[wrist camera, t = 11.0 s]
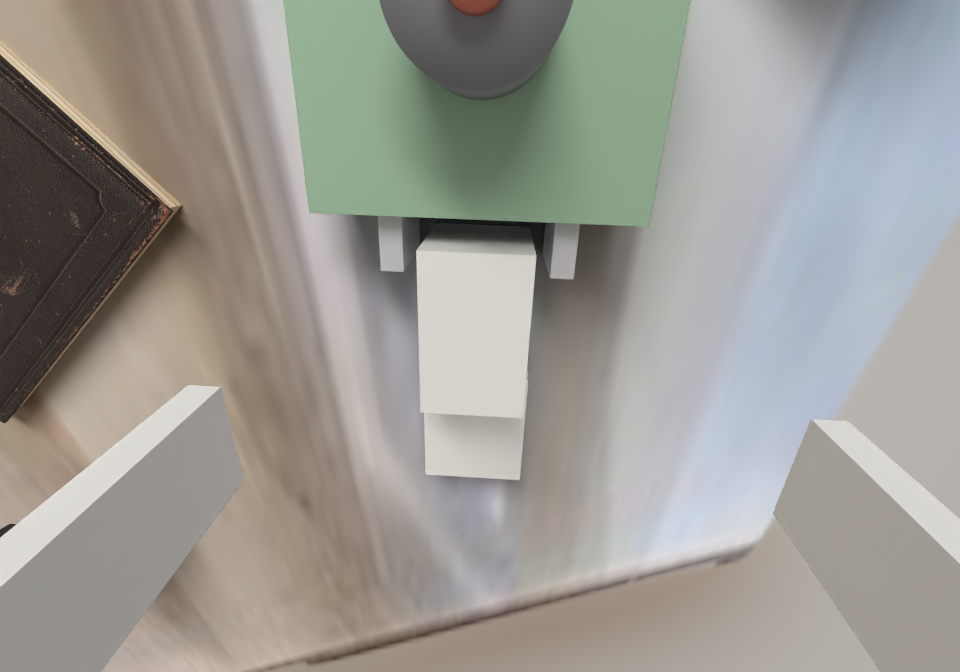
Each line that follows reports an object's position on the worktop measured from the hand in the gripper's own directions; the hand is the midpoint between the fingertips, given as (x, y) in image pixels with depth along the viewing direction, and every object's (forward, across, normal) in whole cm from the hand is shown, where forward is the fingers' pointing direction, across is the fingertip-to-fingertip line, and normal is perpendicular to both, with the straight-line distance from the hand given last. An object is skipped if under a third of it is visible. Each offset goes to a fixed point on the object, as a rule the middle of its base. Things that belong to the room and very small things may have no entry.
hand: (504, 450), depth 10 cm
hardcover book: (+20, -34, 0) cm, 39 cm away
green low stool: (+19, -2, +8) cm, 21 cm away
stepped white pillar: (+19, -2, -7) cm, 21 cm away
